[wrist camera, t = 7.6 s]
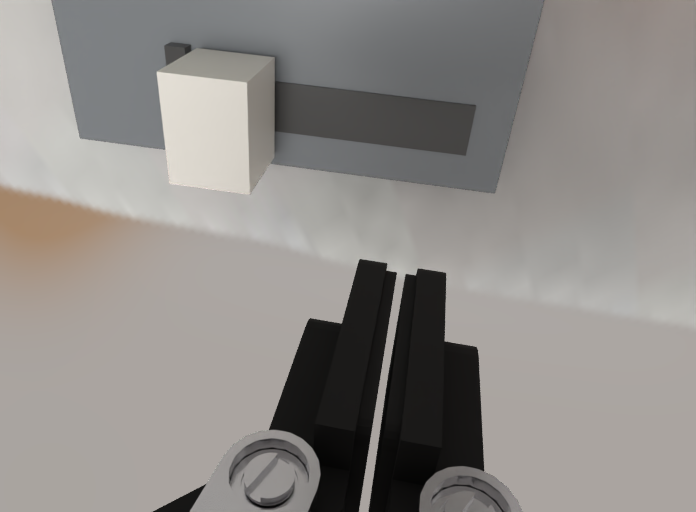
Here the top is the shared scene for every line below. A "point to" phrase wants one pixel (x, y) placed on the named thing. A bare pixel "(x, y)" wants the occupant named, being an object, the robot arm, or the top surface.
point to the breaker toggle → (218, 119)
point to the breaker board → (322, 77)
